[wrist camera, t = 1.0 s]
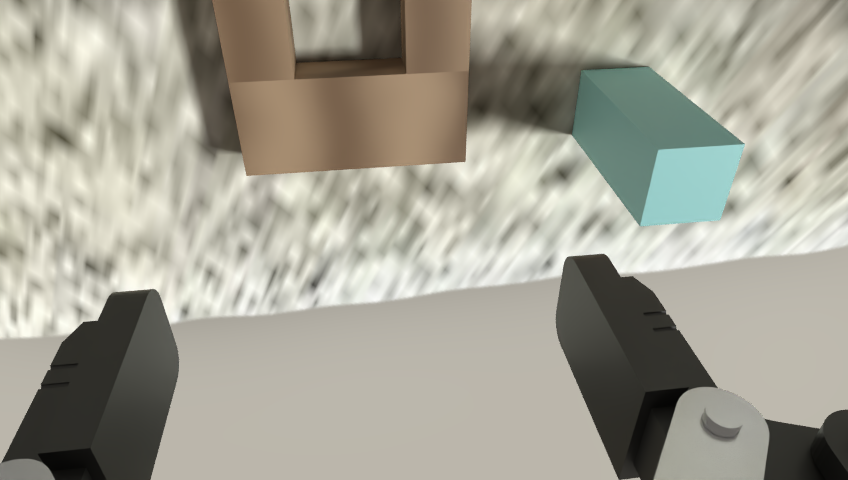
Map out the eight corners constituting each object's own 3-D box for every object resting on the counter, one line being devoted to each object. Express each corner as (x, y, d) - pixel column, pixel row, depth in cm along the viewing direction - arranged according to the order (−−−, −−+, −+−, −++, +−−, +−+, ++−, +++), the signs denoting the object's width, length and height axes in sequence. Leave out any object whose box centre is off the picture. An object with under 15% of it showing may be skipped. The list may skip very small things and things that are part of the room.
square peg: (648, 66, 35) (744, 144, 27) (635, 130, 37) (719, 220, 29) (581, 70, 35) (658, 149, 27) (572, 134, 37) (639, 226, 29)
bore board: (467, -188, 27) (478, -187, 25) (457, 142, 36) (465, 161, 34) (187, -186, 26) (175, -185, 24) (251, 154, 35) (246, 175, 33)
